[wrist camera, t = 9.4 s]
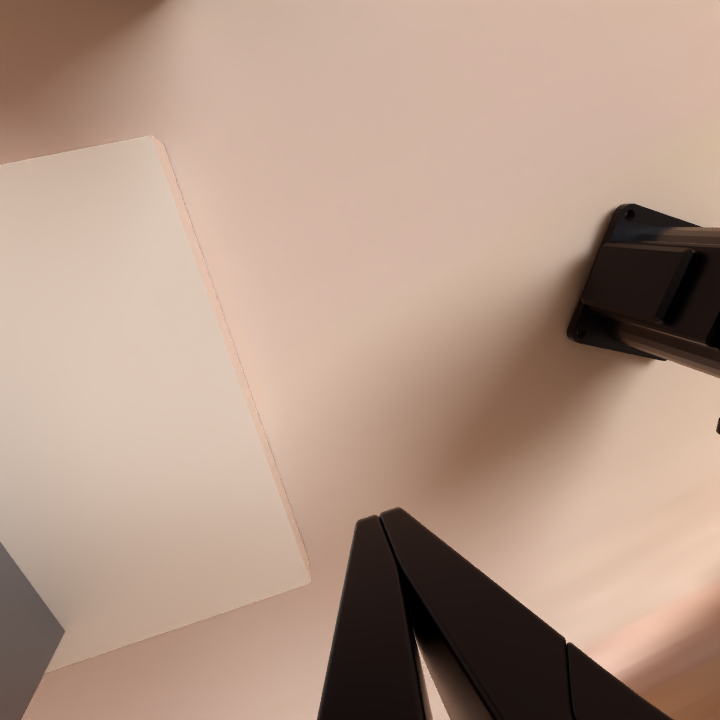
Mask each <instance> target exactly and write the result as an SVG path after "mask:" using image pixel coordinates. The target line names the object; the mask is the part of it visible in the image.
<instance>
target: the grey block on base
mask: <svg viewBox="0 0 720 720" xmlns="http://www.w3.org/2000/svg"><path fill="white" fill-rule="evenodd" d="M310 583H311V577H310V567H309V559H308V556H307V553H306V550H305V547H304V545H303V542H302V539H301V536H300V533H299V530H298V527H297V525H296V522H295V519H294V516H293V513H292V510H291V507H290V505H289V502H288V499H287V496H286V493H285V490H284V487H283V485H282V482H281V479H280V476H279V473H278V470H277V467H276V465H275V462H274V459H273V456H272V453H271V450H270V448H269V445H268V442H267V439H266V436H265V433H264V430H263V428H262V425H261V422H260V419H259V416H258V413H257V410H256V408H255V405H254V402H253V399H252V396H251V393H250V390H249V388H248V385H247V382H246V379H245V376H244V373H243V370H242V368H241V365H240V362H239V359H238V356H237V353H236V350H235V348H234V345H233V342H232V339H231V336H230V333H229V330H228V328H227V325H226V322H225V319H224V316H223V313H222V310H221V308H220V305H219V302H218V299H217V296H216V293H215V290H214V288H213V285H212V282H211V279H210V276H209V273H208V271H207V268H206V265H205V262H204V259H203V256H202V253H201V251H200V248H199V245H198V242H197V239H196V236H195V233H194V231H193V228H192V225H191V222H190V219H189V216H188V213H187V211H186V208H185V205H184V202H183V199H182V196H181V193H180V191H179V188H178V185H177V182H176V179H175V176H174V173H173V171H172V168H171V165H170V162H169V159H168V156H167V153H166V151H165V148H164V145H163V143H162V142H160V141H159V140H157V139H156V138H154V137H153V136H151V135H148V136H143V137H138V138H133V139H128V140H123V141H118V142H112V143H107V144H102V145H97V146H92V147H87V148H82V149H77V150H71V151H66V152H61V153H56V154H51V155H46V156H41V157H36V158H30V159H25V160H20V161H15V162H10V163H5V164H0V720H21V718H22V716H23V714H24V712H25V710H26V709H27V707H28V705H29V703H30V701H31V699H32V697H33V695H34V693H35V691H36V689H37V687H38V685H39V683H40V681H41V679H42V677H43V675H44V674H45V673H48V672H51V671H54V670H57V669H60V668H63V667H66V666H69V665H72V664H75V663H78V662H80V661H83V660H86V659H89V658H92V657H95V656H98V655H101V654H104V653H107V652H110V651H113V650H116V649H119V648H122V647H125V646H128V645H131V644H134V643H137V642H139V641H142V640H145V639H148V638H151V637H154V636H157V635H160V634H163V633H166V632H169V631H172V630H175V629H178V628H181V627H184V626H187V625H190V624H193V623H195V622H198V621H201V620H204V619H207V618H210V617H213V616H216V615H219V614H222V613H225V612H228V611H231V610H234V609H237V608H240V607H243V606H246V605H249V604H251V603H254V602H257V601H260V600H263V599H266V598H269V597H272V596H275V595H278V594H281V593H284V592H287V591H290V590H293V589H296V588H299V587H302V586H305V585H307V584H310Z"/></svg>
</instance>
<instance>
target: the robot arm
mask: <svg viewBox="0 0 720 720" xmlns="http://www.w3.org/2000/svg"><path fill="white" fill-rule="evenodd" d="M626 212H627V214H628V215H627V218H626V219H625V214H626ZM579 329H581V331H580V333H579V334H578V335H577V332H578V331H579ZM567 336H568V338H569V339H570V340H572V341H575V342H577V343H582V344H586V345H591V346H596V347H600V348H605V349H610V350H615V351H619V352H624V353H629V354H633V355H638V356H643V357H647V358H652V359H657V360H661V361H666V360H670V361H673V362H675V363H678V364H681V365H684V366H687V367H689V368H692V369H695V370H698V371H701V372H704V373H706V374H709V375H712V376H715V377H718V378H720V228H704V227H700V226H698V225H695V224H692V223H689V222H686V221H683V220H680V219H677V218H674V217H671V216H668V215H665V214H663V213H660V212H657V211H654V210H651V209H648V208H645V207H642V206H639V205H636V204H622V205H620V206H619V207H618V208H617V209H616V210H615V212H614V214H613V217H612V219H611V222H610V224H609V227H608V229H607V232H606V234H605V237H604V239H603V242H602V244H601V247H600V249H599V252H598V254H597V257H596V259H595V262H594V264H593V267H592V269H591V272H590V274H589V277H588V279H587V282H586V284H585V287H584V290H583V292H582V295H581V297H580V300H579V302H578V305H577V307H576V310H575V312H574V315H573V317H572V320H571V322H570V325H569V327H568V330H567ZM716 432H717V433H718V434H720V418H719V420H718V425H717V429H716ZM415 638H416V639H415ZM416 641H417V644H418V646H419V649H420V651H421V654H422V656H423V659H424V661H425V663H426V665H427V668H428V670H429V672H430V674H431V677H432V679H433V681H434V684H435V686H436V688H437V690H438V693H439V695H440V697H441V699H442V702H443V704H444V706H445V708H446V711H447V713H448V715H449V717H450V720H674V719H672V718H671V717H669V716H668V715H666V714H665V713H663V712H662V711H661V710H659V709H658V708H656V707H655V706H653V705H652V704H650V703H649V702H648V701H646V700H645V699H643V698H642V697H641V696H639V695H638V694H637V693H635V692H634V691H633V690H631V689H630V688H629V687H628V686H626V685H625V684H624V683H622V682H621V681H620V680H618V679H617V678H616V677H614V676H613V675H612V674H610V673H609V672H608V671H606V670H605V669H604V668H602V667H601V666H600V665H598V664H597V663H596V662H595V661H593V660H592V659H591V658H590V657H588V656H587V655H586V654H585V653H583V652H582V651H581V650H580V649H578V648H577V647H576V646H575V645H573V644H572V643H570V642H569V643H567V645H566V640H565V638H564V637H563V636H562V635H561V634H559V633H558V632H557V631H555V630H554V629H553V628H552V627H550V626H549V625H548V624H547V623H545V622H544V621H543V620H542V619H540V618H539V617H538V616H537V615H535V614H534V613H533V612H532V611H530V610H529V609H528V608H527V607H525V606H524V605H523V604H522V603H520V602H519V601H518V600H516V599H515V598H514V597H513V596H511V595H510V594H509V593H508V592H506V591H505V590H504V589H503V588H501V587H500V586H499V585H498V584H496V583H495V582H494V581H493V580H491V579H490V578H489V577H488V576H486V575H485V574H484V573H482V572H481V571H480V570H479V569H477V568H476V567H475V566H474V565H472V564H471V563H470V562H469V561H467V560H466V559H465V558H464V557H462V556H461V555H460V554H459V553H457V552H456V551H455V550H454V549H452V548H451V547H450V546H448V545H447V544H446V543H445V542H443V541H442V540H441V539H440V538H438V537H437V536H436V535H435V534H433V533H432V532H431V531H430V530H428V529H427V528H426V527H425V526H423V525H422V524H421V523H420V522H418V521H417V520H416V519H415V518H413V517H412V516H411V515H409V514H408V513H407V512H406V511H404V510H403V509H402V508H399V507H397V508H394V509H391V510H388V511H385V512H382V513H381V514H380V516H379V517H378V516H377V515H372V516H369V517H366V518H363V519H360V520H358V521H357V522H356V525H355V530H354V535H353V540H352V545H351V550H350V555H349V560H348V565H347V570H346V575H345V580H344V586H343V591H342V596H341V601H340V606H339V611H338V616H337V621H336V626H335V631H334V636H333V641H332V646H331V651H330V656H329V661H328V666H327V672H326V677H325V682H324V687H323V692H322V697H321V702H320V707H319V712H318V717H317V720H433V718H432V713H431V708H430V704H429V699H428V694H427V689H426V684H425V679H424V675H423V670H422V665H421V661H420V656H419V652H418V648H417V644H416Z"/></svg>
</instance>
